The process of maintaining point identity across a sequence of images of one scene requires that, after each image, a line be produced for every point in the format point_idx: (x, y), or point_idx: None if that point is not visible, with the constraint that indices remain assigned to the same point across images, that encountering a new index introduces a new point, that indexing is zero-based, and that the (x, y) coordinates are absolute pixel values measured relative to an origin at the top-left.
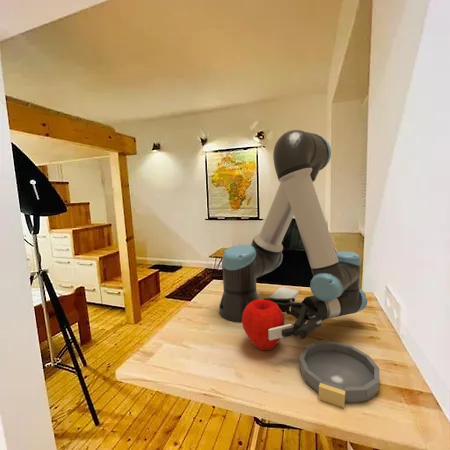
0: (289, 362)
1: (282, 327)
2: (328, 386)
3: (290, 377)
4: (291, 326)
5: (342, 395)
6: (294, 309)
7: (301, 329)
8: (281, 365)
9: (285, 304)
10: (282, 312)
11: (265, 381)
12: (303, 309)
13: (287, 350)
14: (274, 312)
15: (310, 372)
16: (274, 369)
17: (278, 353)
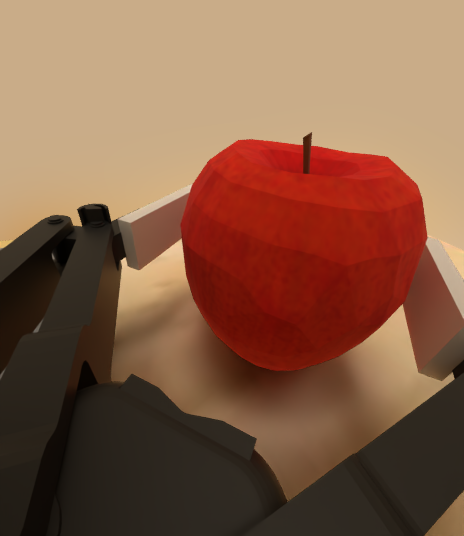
0: (146, 322)
1: (157, 200)
2: (1, 245)
3: (125, 282)
4: (122, 223)
5: None
6: (191, 428)
7: (58, 215)
8: (164, 301)
9: (381, 469)
10: (209, 222)
11: (174, 254)
12: (22, 437)
13: (178, 372)
14: (213, 157)
15: (53, 258)
16: (174, 282)
17: (199, 336)
